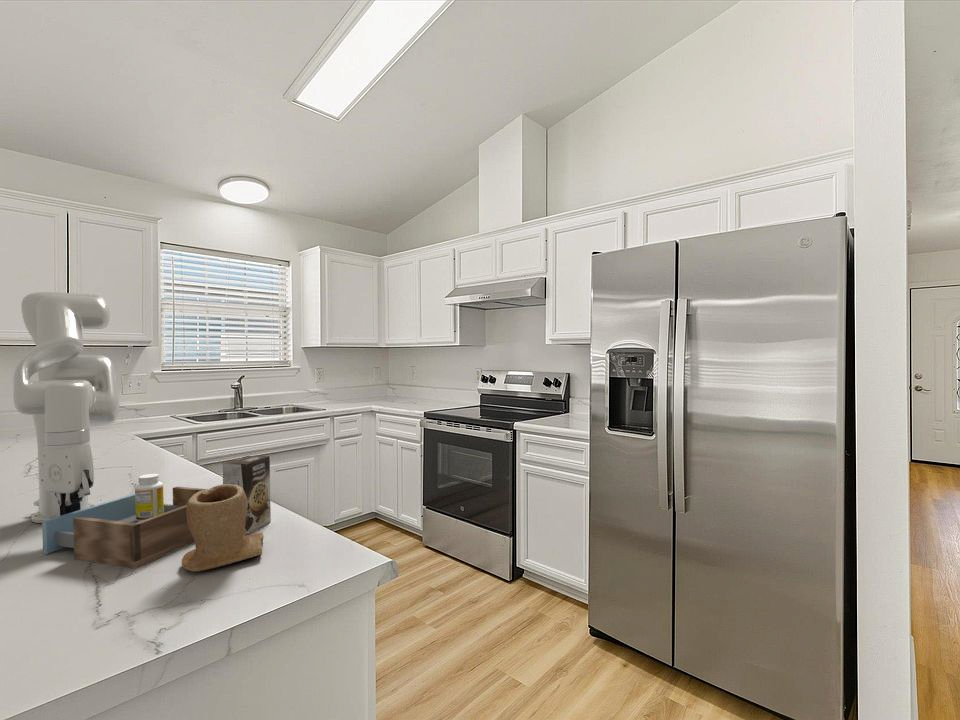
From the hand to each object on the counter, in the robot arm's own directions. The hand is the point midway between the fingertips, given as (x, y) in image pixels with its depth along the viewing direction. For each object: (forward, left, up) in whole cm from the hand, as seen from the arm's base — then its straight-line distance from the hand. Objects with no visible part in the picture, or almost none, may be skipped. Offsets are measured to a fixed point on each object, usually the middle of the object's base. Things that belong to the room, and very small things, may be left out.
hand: (70, 521), depth 110 cm
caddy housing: (+19, +5, -4) cm, 20 cm away
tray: (+10, +5, -4) cm, 12 cm away
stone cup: (+42, 0, -5) cm, 42 cm away
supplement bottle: (+10, +11, -2) cm, 15 cm away
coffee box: (+32, +17, -5) cm, 36 cm away
